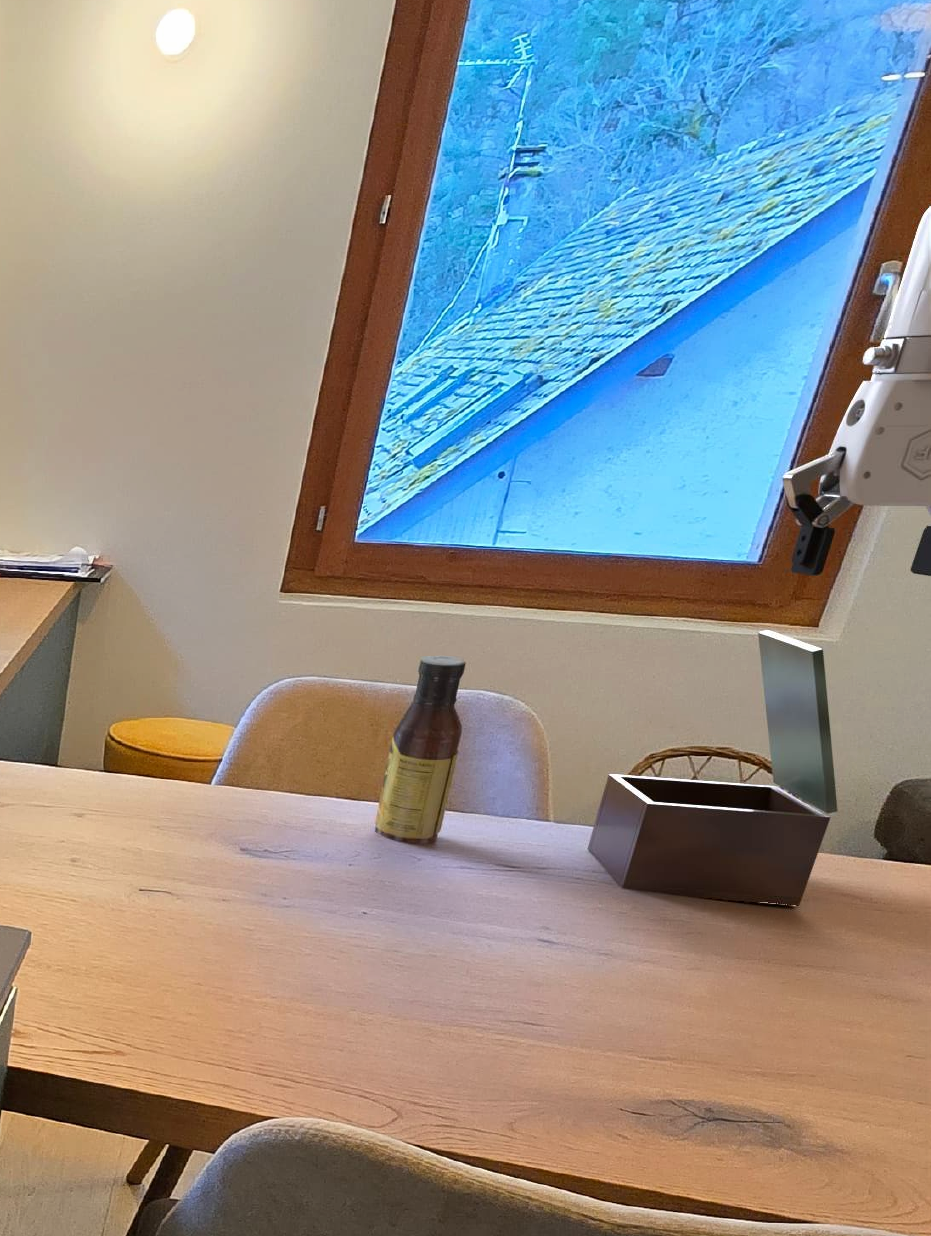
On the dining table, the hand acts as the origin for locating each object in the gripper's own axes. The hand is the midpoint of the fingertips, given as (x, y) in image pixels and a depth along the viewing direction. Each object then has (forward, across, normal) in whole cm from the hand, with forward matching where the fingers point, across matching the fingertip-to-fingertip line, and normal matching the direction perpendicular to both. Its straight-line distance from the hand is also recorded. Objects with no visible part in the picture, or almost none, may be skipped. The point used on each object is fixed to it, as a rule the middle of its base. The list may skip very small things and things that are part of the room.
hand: (865, 574), depth 119 cm
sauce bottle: (+30, -28, +12) cm, 43 cm away
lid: (+14, 0, +3) cm, 14 cm away
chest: (+30, -4, +4) cm, 31 cm away
